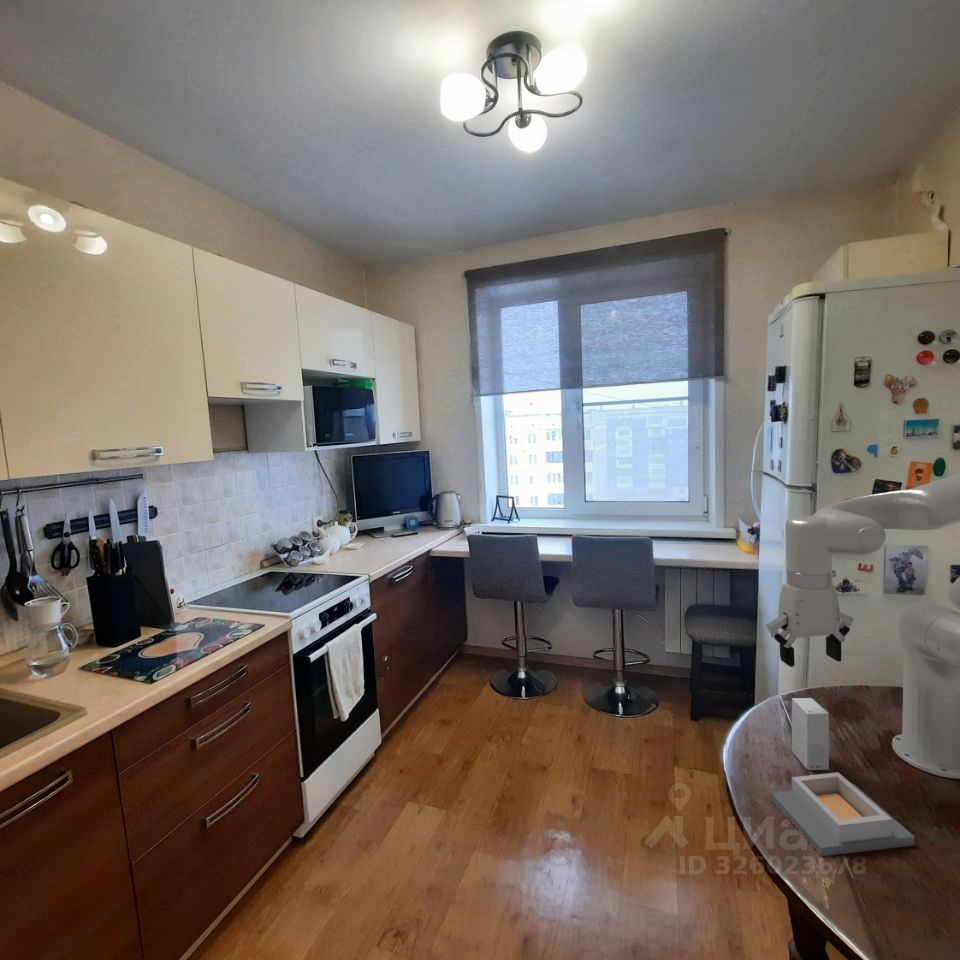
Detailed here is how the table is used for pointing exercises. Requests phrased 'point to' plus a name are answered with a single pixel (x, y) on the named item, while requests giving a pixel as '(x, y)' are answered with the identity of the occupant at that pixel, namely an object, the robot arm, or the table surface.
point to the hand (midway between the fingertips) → (810, 661)
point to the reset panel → (828, 828)
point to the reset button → (839, 806)
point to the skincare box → (810, 733)
